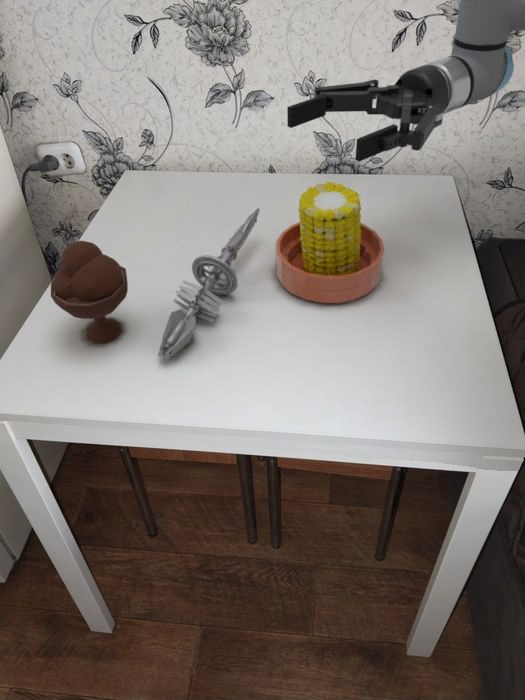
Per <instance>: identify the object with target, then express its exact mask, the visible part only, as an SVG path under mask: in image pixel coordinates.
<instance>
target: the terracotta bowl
mask: <svg viewBox="0 0 525 700" xmlns="http://www.w3.org/2000/svg"><path fill="white" fill-rule="evenodd" d="M300 224H301V223H300V221H298V222H296V223H294V224H291V225H290V226H289V227H287V228H286V229H285V230H284V231H282V232H281V234H280V235H279V237H278V238H277V240H276V243H275V245H276V246H275V247H276V277H277V278H278V281H279V282H280V284H281V286H282V287H283V288H285V289H286V291H288V292H289V293H290V294H291V295H294V296H296V297H299V298H301V299H304V300H305V301H310V302H316V303H322V304H340V303H345V302H350V301H355V300H358V299H360V298H362V297H363V296H366V295H367V294H369V293H371V292H372V291H373V290H374V289H375V287H376V286H378V284H379V283H380V279H381V277H382V273H383V271H382V270H383V263H384V257H385V246H384V241H383V239H382V238H381V236H380V235H379V234H378V233H377V232H376V231H375V230H374V229H373V228H371V227H369V226H368V225H367V224H365V223H362V222H361V226H360V229H361V238H360V241H361V244H360V257H361V259H360V260H359V267H358V268H359V269H358V270H357V271H356V273H351V274H346V275H341V276H323V275H317V274H312V273H307V272H306V271H305V267H304V265H303V259H302V257H303V255H302V246H301V243H302V241H301V240H300V238H301V232H300Z"/></svg>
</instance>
